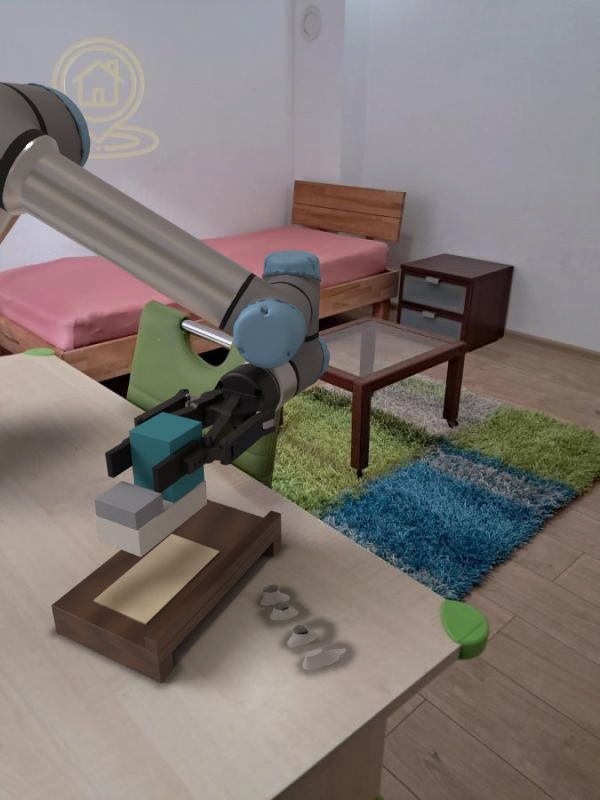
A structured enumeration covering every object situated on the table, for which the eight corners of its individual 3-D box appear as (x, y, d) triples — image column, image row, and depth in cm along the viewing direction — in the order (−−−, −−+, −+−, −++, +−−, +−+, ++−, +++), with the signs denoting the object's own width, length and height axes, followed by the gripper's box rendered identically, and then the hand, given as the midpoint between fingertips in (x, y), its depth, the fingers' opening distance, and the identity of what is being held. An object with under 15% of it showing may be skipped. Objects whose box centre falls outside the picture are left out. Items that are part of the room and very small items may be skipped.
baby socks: (254, 606, 72) (254, 588, 71) (296, 591, 74) (296, 573, 73) (306, 682, 62) (306, 663, 61) (352, 662, 65) (353, 643, 64)
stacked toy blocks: (167, 490, 73) (161, 411, 69) (207, 503, 70) (203, 422, 66) (97, 540, 64) (86, 452, 60) (141, 557, 61) (132, 466, 57)
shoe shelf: (57, 637, 67) (48, 593, 65) (192, 521, 87) (189, 484, 84) (161, 689, 62) (156, 643, 59) (281, 552, 81) (281, 513, 78)
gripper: (319, 431, 78) (211, 531, 60) (198, 402, 86) (69, 482, 67) (320, 375, 75) (206, 462, 57) (195, 350, 83) (59, 418, 64)
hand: (132, 472), depth 62 cm, fingers closed on stacked toy blocks, 5 cm apart
